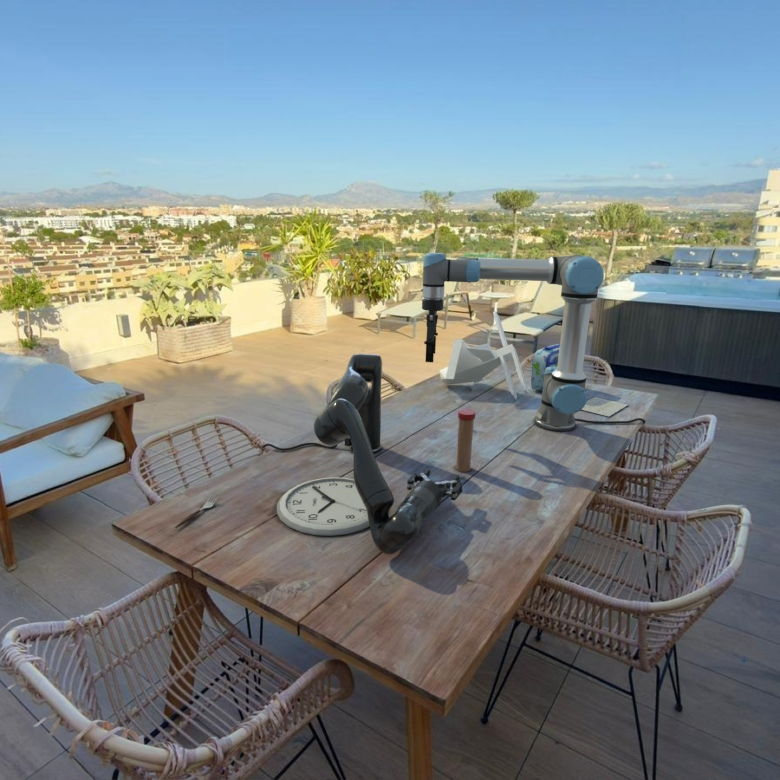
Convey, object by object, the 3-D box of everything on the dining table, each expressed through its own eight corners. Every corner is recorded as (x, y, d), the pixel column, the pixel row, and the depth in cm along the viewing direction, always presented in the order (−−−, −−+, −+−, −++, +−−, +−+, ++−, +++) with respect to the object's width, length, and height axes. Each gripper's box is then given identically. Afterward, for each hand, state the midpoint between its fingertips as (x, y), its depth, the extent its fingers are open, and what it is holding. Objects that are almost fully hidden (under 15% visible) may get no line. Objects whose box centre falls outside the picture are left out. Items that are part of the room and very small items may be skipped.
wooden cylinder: (453, 467, 166) (456, 412, 161) (463, 464, 169) (467, 409, 163) (462, 473, 163) (466, 416, 157) (473, 469, 165) (477, 414, 160)
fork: (171, 528, 130) (170, 521, 130) (212, 499, 145) (211, 492, 144) (179, 530, 129) (178, 523, 129) (220, 500, 144) (219, 494, 143)
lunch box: (547, 396, 238) (552, 351, 232) (526, 391, 246) (531, 347, 239) (574, 385, 256) (579, 343, 250) (554, 380, 263) (559, 340, 257)
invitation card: (608, 416, 214) (573, 407, 224) (608, 416, 214) (573, 408, 224) (628, 404, 229) (594, 396, 238) (628, 405, 229) (594, 397, 238)
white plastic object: (461, 429, 252) (437, 405, 227) (444, 352, 274) (420, 323, 250) (535, 404, 240) (518, 377, 215) (510, 326, 262) (492, 293, 237)
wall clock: (392, 527, 129) (268, 531, 127) (391, 533, 130) (269, 537, 127) (383, 473, 158) (282, 475, 155) (383, 478, 158) (282, 480, 156)
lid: (454, 416, 161) (454, 410, 161) (467, 413, 164) (467, 408, 164) (465, 421, 157) (465, 415, 157) (478, 418, 160) (478, 412, 159)
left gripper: (396, 507, 137) (419, 481, 151) (447, 520, 131) (467, 492, 145) (396, 481, 135) (420, 457, 149) (449, 493, 129) (468, 467, 143)
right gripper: (424, 293, 195) (422, 349, 202) (419, 302, 172) (417, 365, 178) (444, 294, 194) (442, 350, 201) (442, 303, 171) (439, 366, 177)
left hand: (443, 475), depth 147 cm, fingers open, 8 cm apart
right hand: (430, 357), depth 189 cm, fingers open, 13 cm apart
